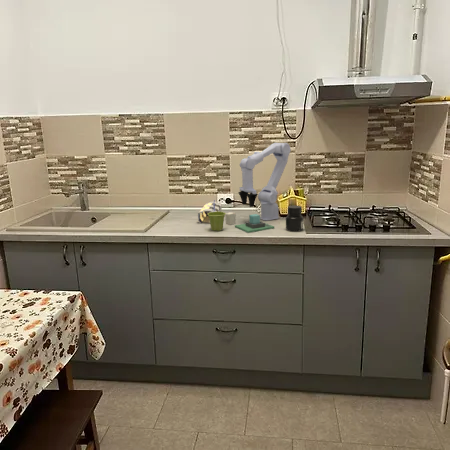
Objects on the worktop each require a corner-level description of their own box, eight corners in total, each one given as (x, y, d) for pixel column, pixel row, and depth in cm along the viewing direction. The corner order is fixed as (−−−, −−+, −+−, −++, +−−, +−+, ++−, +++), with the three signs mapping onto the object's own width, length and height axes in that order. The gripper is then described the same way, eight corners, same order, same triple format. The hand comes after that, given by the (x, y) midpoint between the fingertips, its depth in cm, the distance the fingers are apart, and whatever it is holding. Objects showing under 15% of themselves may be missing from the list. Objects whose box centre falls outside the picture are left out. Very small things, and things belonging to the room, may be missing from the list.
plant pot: (229, 229, 224) (229, 213, 222) (216, 232, 218) (215, 216, 216) (218, 226, 231) (217, 210, 229) (204, 229, 225) (203, 213, 223)
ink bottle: (306, 231, 217) (307, 207, 214) (290, 232, 214) (290, 209, 211) (298, 226, 226) (298, 204, 223) (282, 228, 223) (282, 205, 220)
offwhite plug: (230, 222, 239) (230, 212, 238) (235, 223, 236) (235, 213, 235) (224, 224, 236) (224, 213, 235) (229, 225, 233) (229, 214, 232)
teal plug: (255, 224, 227) (255, 214, 226) (260, 226, 224) (259, 215, 223) (248, 226, 225) (248, 215, 224) (252, 227, 222) (252, 216, 220)
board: (259, 223, 236) (259, 217, 235) (274, 228, 224) (274, 222, 223) (234, 227, 228) (234, 221, 228) (248, 232, 216) (248, 227, 216)
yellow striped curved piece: (216, 224, 238) (215, 201, 234) (198, 224, 239) (197, 201, 236) (221, 214, 262) (221, 193, 258) (205, 214, 263) (204, 193, 260)
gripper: (234, 179, 235) (235, 204, 239) (248, 183, 223) (248, 208, 226) (245, 178, 239) (246, 202, 242) (259, 181, 226) (259, 206, 230)
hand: (248, 205), depth 234 cm, fingers open, 7 cm apart
